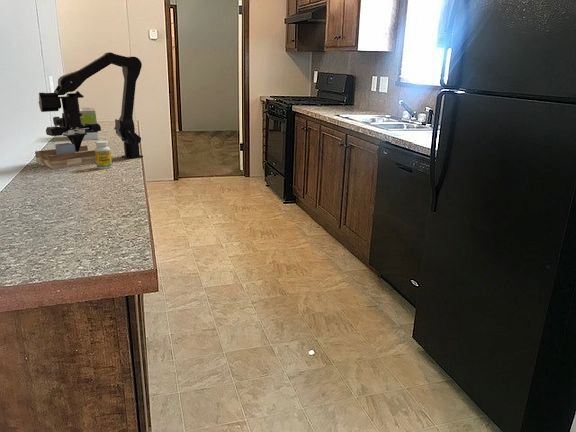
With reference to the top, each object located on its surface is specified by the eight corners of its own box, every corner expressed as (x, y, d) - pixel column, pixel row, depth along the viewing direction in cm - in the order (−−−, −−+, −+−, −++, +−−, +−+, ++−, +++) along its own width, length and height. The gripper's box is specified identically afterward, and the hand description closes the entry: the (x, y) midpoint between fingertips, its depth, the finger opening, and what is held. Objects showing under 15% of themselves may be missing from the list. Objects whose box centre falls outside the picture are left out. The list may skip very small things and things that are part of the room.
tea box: (76, 136, 246) (72, 107, 242) (97, 135, 250) (93, 107, 246) (77, 140, 233) (73, 110, 229) (99, 139, 237) (95, 109, 233)
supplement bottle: (110, 165, 177) (107, 140, 174) (113, 168, 173) (111, 142, 170) (95, 167, 174) (92, 141, 172) (98, 169, 170) (95, 143, 167)
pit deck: (104, 161, 185) (103, 149, 184) (52, 168, 171) (50, 156, 170) (87, 156, 194) (86, 145, 193) (36, 163, 180) (34, 151, 178)
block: (76, 157, 178) (74, 144, 177) (62, 159, 175) (60, 145, 173) (70, 155, 181) (68, 142, 180) (57, 157, 178) (55, 144, 176)
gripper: (85, 107, 188) (90, 146, 192) (36, 110, 174) (43, 152, 179) (99, 109, 180) (104, 149, 185) (49, 113, 167) (56, 156, 172)
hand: (77, 151), depth 181 cm, fingers closed
